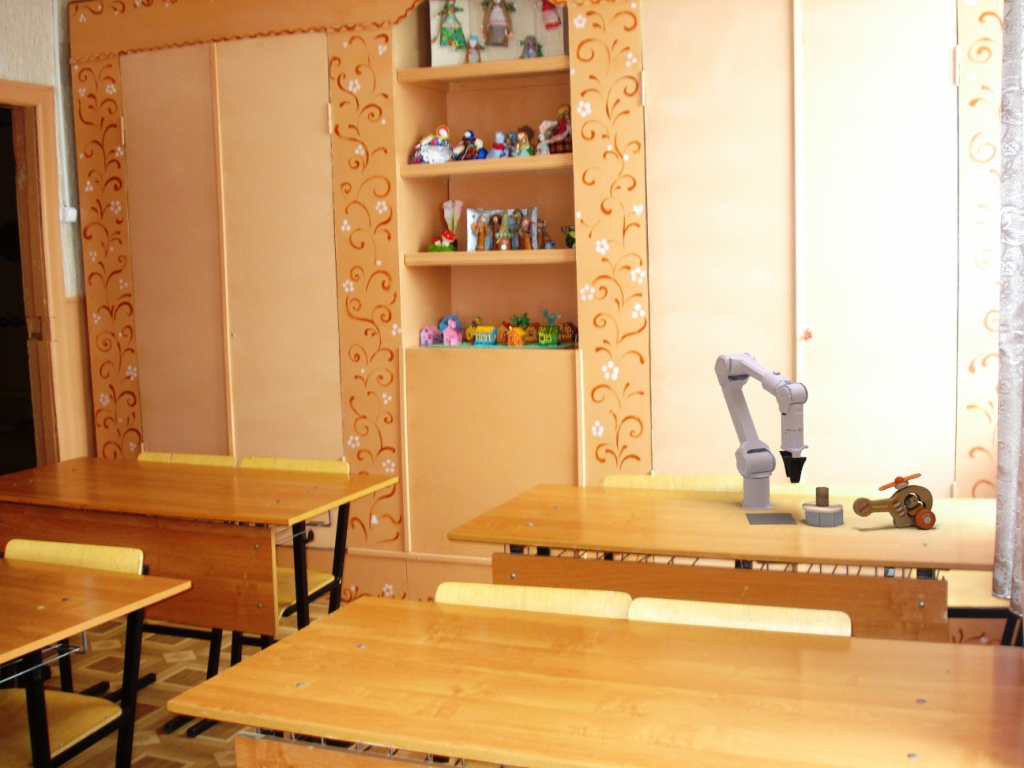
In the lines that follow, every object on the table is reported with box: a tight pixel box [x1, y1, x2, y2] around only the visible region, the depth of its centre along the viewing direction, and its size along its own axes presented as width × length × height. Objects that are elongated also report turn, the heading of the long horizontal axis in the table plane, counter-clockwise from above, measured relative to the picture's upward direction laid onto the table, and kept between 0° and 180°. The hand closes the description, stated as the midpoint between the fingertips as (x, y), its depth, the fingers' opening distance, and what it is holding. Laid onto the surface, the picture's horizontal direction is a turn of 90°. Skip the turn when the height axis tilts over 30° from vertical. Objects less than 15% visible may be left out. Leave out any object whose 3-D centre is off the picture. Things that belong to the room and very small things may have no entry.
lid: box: [801, 486, 844, 513], centre depth 256 cm, size 10×10×5 cm
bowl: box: [804, 509, 844, 528], centre depth 257 cm, size 9×9×4 cm
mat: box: [745, 512, 798, 526], centre depth 263 cm, size 12×12×1 cm
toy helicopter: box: [852, 472, 937, 530], centre depth 250 cm, size 8×21×14 cm, turn 97°
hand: (792, 479), depth 263 cm, fingers open, 7 cm apart
